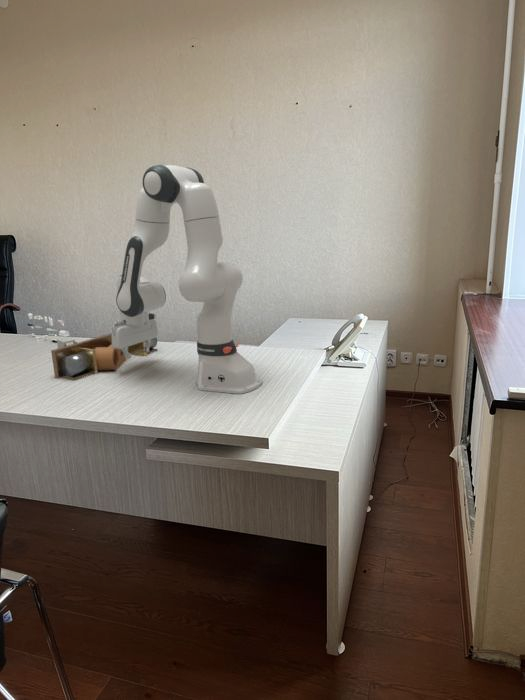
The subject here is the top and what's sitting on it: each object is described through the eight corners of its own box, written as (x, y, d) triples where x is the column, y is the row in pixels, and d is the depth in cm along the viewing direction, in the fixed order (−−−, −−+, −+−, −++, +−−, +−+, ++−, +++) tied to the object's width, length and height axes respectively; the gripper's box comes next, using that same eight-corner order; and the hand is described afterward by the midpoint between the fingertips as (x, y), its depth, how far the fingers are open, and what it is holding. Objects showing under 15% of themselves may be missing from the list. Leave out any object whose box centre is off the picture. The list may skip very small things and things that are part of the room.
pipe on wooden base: (161, 350, 217) (159, 327, 215) (75, 382, 181) (71, 353, 178) (142, 348, 222) (140, 324, 220) (55, 377, 186) (51, 350, 184)
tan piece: (111, 350, 188) (92, 350, 188) (113, 372, 190) (94, 373, 190) (125, 338, 205) (107, 338, 205) (127, 358, 207) (110, 359, 207)
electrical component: (93, 358, 209) (92, 346, 208) (79, 361, 205) (77, 349, 204) (69, 347, 227) (68, 336, 225) (55, 350, 223) (54, 339, 222)
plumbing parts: (34, 335, 251) (31, 310, 247) (78, 345, 230) (74, 318, 226) (21, 338, 246) (18, 312, 242) (64, 349, 225) (61, 321, 222)
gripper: (118, 324, 180) (122, 363, 184) (158, 313, 197) (162, 349, 200) (105, 323, 183) (109, 361, 187) (146, 312, 200) (149, 347, 204)
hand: (137, 355), depth 194 cm, fingers open, 8 cm apart
